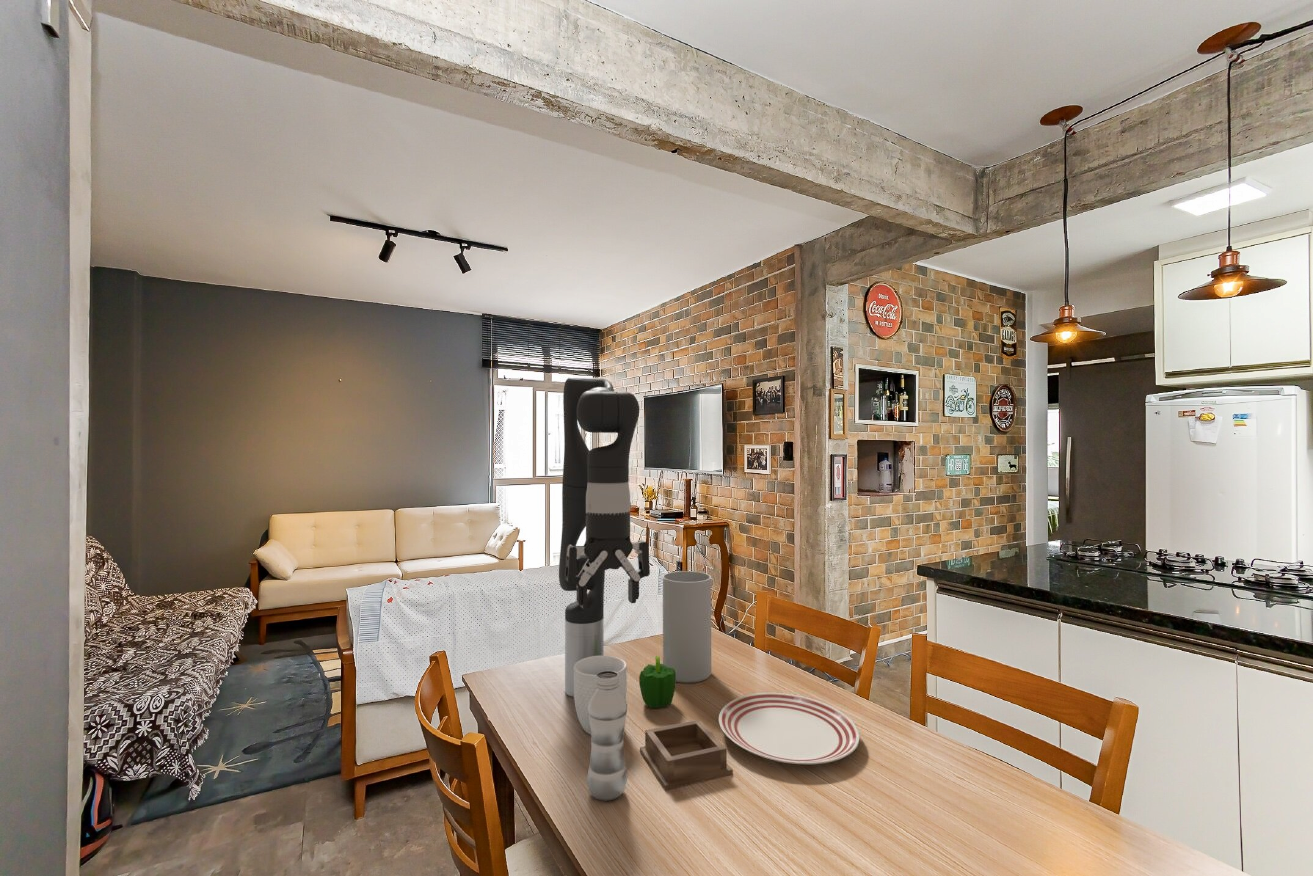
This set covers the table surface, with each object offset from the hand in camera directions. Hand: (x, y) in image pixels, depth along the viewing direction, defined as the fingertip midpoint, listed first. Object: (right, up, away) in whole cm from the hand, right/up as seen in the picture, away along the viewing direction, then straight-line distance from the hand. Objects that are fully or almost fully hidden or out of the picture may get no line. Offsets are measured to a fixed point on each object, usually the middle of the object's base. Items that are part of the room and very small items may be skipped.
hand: (608, 604), depth 95 cm
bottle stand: (+13, -32, +9) cm, 36 cm away
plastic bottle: (0, -32, -1) cm, 32 cm away
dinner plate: (+35, -32, +18) cm, 51 cm away
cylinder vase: (+16, -33, +50) cm, 61 cm away
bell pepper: (+9, -33, +33) cm, 47 cm away
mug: (-3, -32, +21) cm, 39 cm away
